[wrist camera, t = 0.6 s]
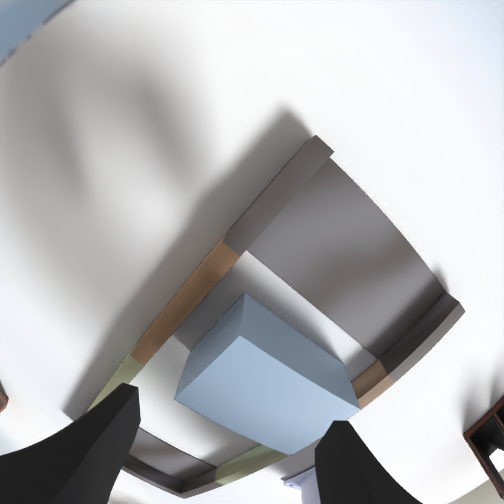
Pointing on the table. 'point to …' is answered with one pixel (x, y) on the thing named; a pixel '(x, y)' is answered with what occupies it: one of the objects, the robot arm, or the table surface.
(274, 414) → the blue block
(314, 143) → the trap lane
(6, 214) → the table surface
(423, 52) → the table surface
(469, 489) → the table surface
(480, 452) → the letter holder
